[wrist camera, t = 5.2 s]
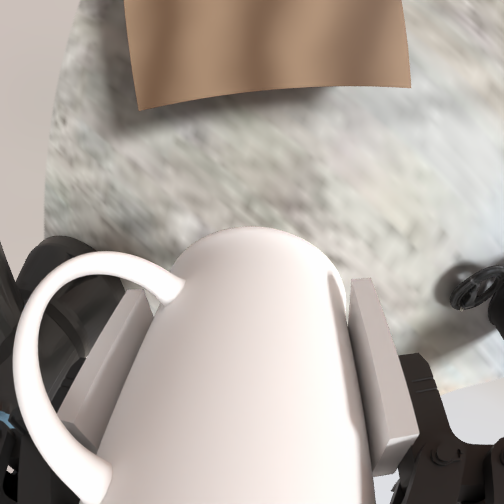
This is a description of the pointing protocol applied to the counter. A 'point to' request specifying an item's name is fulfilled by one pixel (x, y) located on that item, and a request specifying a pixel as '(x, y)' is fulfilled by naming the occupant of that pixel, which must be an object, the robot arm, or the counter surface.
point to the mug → (217, 381)
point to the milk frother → (483, 295)
